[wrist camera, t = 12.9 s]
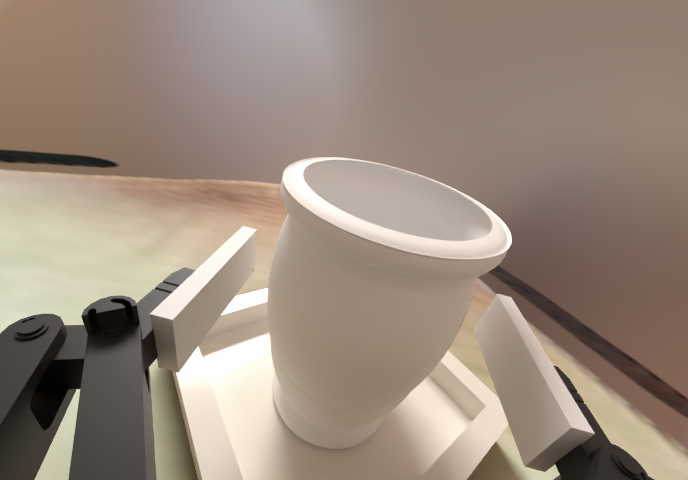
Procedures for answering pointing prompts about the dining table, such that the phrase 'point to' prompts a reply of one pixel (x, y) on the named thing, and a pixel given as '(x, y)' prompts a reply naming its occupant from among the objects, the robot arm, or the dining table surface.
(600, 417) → the dining table surface
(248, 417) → the white square tray
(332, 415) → the jar
